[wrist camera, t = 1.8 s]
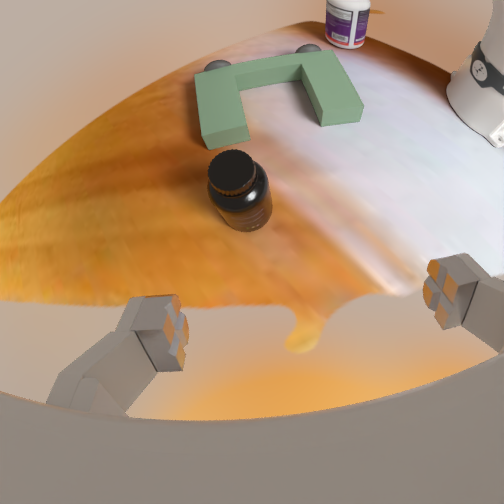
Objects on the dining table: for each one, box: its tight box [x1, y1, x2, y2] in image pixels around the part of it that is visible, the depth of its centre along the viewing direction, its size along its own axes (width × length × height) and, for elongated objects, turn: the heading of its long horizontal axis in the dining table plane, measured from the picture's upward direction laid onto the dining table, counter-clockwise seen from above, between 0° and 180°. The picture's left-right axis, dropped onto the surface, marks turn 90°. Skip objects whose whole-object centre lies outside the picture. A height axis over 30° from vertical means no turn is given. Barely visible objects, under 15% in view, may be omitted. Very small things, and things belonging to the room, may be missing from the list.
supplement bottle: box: [207, 149, 272, 232], centre depth 34 cm, size 7×7×12 cm
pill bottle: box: [325, 0, 370, 49], centre depth 38 cm, size 8×8×14 cm
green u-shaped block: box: [194, 44, 364, 150], centre depth 41 cm, size 24×15×5 cm, turn 101°
